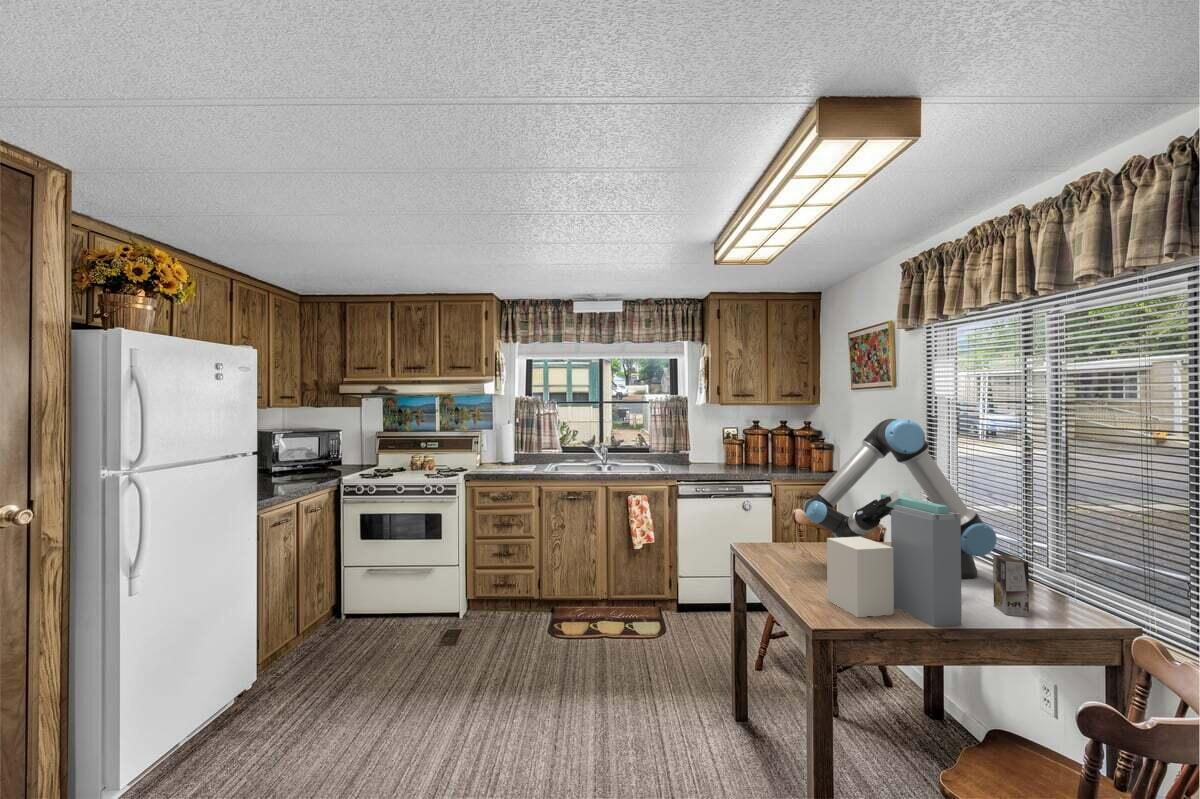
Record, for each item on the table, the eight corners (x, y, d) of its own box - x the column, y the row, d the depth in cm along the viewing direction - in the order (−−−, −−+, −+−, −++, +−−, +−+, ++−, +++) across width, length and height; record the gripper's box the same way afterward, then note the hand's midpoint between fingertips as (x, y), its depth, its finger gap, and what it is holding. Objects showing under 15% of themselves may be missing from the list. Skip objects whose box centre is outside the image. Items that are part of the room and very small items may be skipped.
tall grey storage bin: (917, 604, 191) (916, 504, 192) (961, 624, 174) (960, 513, 174) (891, 606, 190) (890, 504, 190) (933, 626, 172) (932, 514, 172)
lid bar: (890, 504, 200) (890, 494, 200) (948, 518, 175) (948, 506, 175) (880, 505, 199) (880, 494, 199) (938, 518, 174) (938, 506, 174)
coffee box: (1030, 617, 180) (1029, 562, 180) (1005, 615, 181) (1005, 561, 182) (1015, 607, 189) (1015, 554, 189) (992, 605, 190) (992, 553, 190)
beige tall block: (861, 598, 198) (860, 536, 198) (893, 614, 182) (893, 547, 182) (827, 600, 195) (826, 538, 196) (857, 617, 180) (857, 549, 180)
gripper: (889, 529, 210) (931, 504, 191) (845, 531, 207) (884, 506, 187) (882, 508, 214) (923, 482, 194) (839, 510, 211) (876, 483, 191)
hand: (904, 494), depth 191 cm, fingers closed on lid bar, 3 cm apart
